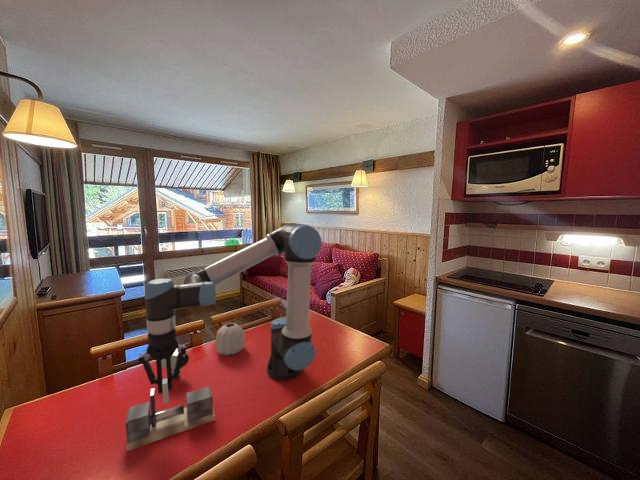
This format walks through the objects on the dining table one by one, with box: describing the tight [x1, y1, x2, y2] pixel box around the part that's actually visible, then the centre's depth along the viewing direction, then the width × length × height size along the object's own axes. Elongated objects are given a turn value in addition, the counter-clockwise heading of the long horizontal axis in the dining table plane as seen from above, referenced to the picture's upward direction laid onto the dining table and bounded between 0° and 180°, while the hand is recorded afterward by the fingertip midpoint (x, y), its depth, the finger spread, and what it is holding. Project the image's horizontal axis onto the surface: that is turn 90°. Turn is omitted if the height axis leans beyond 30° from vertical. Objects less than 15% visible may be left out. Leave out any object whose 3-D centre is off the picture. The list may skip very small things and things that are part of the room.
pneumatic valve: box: [161, 349, 190, 380], centre depth 110 cm, size 6×12×12 cm, turn 78°
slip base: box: [125, 385, 216, 452], centre depth 86 cm, size 24×9×8 cm, turn 120°
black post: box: [149, 387, 185, 428], centre depth 83 cm, size 14×5×11 cm, turn 120°
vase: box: [215, 322, 246, 356], centre depth 130 cm, size 14×14×13 cm
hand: (166, 400), depth 84 cm, fingers closed
